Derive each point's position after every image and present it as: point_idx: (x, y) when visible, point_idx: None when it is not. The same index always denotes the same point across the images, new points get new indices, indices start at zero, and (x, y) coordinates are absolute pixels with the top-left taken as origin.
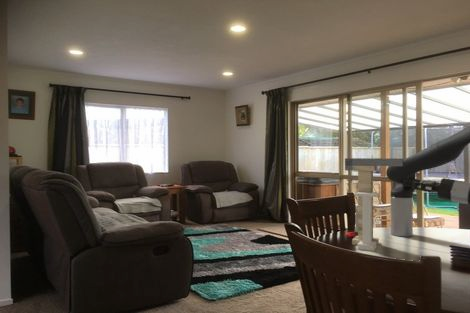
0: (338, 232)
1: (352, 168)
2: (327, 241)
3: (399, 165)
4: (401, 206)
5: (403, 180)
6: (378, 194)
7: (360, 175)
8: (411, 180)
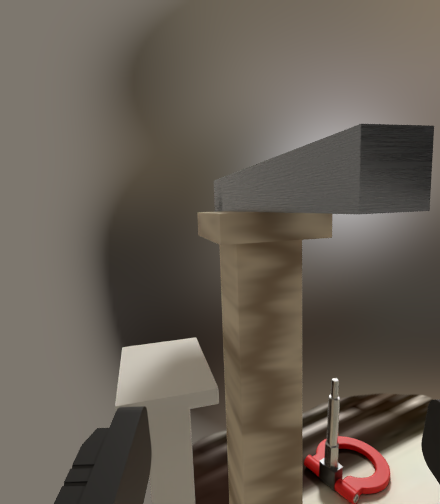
0: None
1: None
2: (197, 452)
3: (339, 206)
4: None
5: (121, 410)
6: (191, 399)
7: (223, 259)
8: (431, 412)
